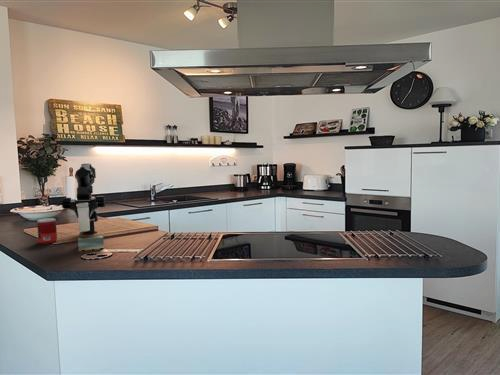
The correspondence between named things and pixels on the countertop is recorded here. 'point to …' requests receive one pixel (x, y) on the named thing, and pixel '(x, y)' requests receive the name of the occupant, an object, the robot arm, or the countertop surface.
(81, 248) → the stand
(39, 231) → the canned food
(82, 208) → the mill
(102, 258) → the countertop surface
